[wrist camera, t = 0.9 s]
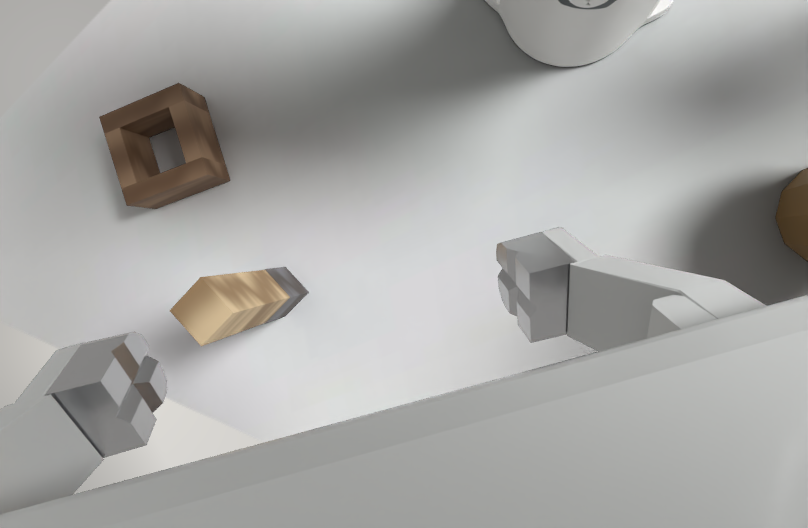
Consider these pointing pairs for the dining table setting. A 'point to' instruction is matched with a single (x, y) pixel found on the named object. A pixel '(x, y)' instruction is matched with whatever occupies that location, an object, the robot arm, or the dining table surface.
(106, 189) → the dining table surface
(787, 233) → the flowerpot
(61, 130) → the dining table surface
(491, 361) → the dining table surface
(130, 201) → the wooden square ring
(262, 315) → the light wooden block
